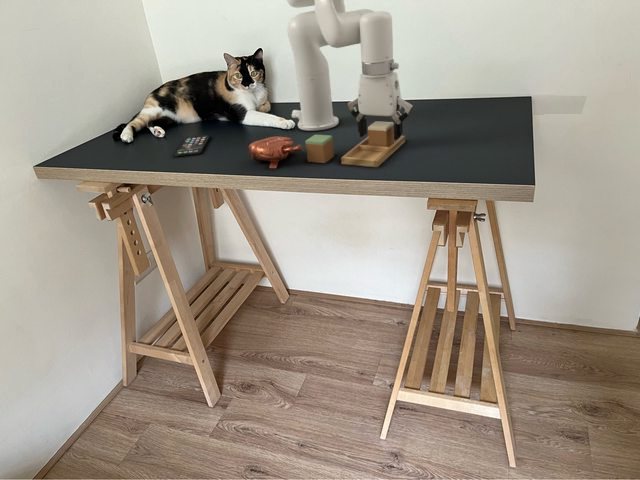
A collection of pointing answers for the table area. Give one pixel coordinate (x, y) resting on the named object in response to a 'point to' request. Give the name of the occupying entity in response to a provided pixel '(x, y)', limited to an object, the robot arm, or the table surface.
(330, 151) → the pad sage
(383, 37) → the robot arm
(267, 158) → the heart
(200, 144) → the smartphone
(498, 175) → the table surface
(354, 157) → the wooden divided tray
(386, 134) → the pad cream
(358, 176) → the table surface
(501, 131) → the table surface
